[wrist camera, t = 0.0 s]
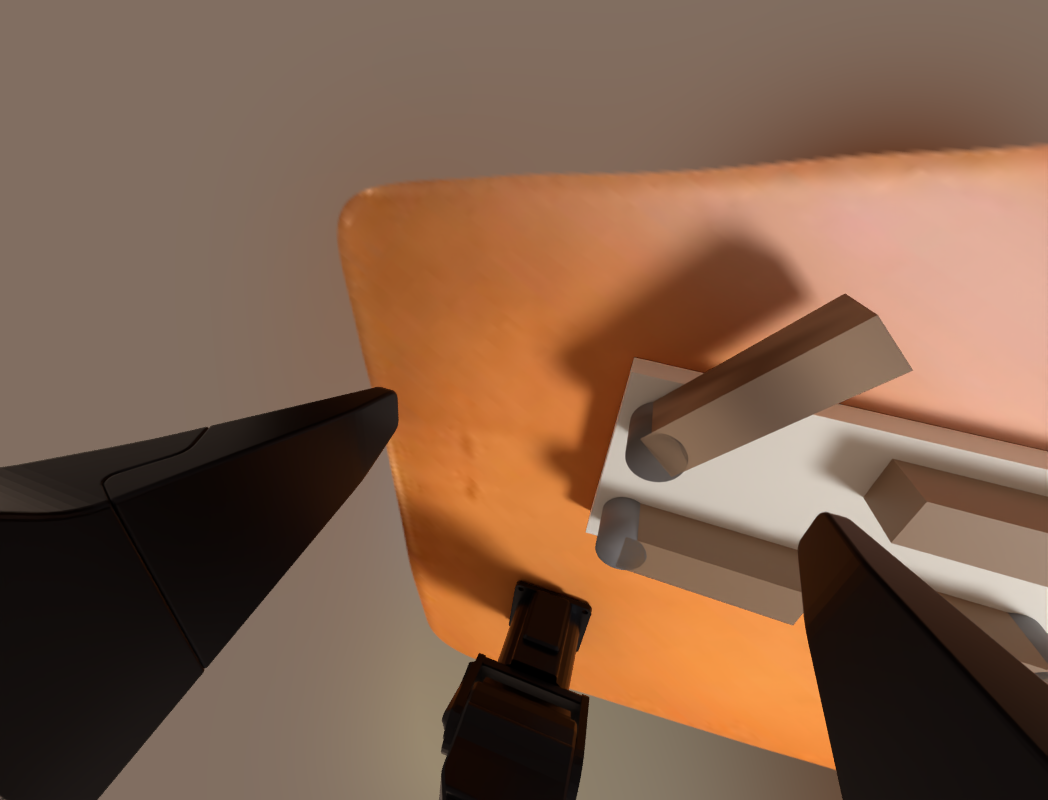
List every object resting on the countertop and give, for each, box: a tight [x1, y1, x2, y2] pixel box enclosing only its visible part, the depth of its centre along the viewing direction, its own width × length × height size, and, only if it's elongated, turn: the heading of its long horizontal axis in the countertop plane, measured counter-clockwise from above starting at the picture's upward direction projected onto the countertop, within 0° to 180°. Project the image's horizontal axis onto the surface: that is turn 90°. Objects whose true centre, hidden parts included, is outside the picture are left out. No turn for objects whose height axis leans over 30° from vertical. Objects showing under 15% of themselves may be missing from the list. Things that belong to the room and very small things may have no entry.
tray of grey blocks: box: [586, 357, 1048, 684], centre depth 21 cm, size 12×24×5 cm, turn 83°
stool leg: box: [625, 294, 913, 482], centre depth 18 cm, size 11×3×3 cm, turn 133°
